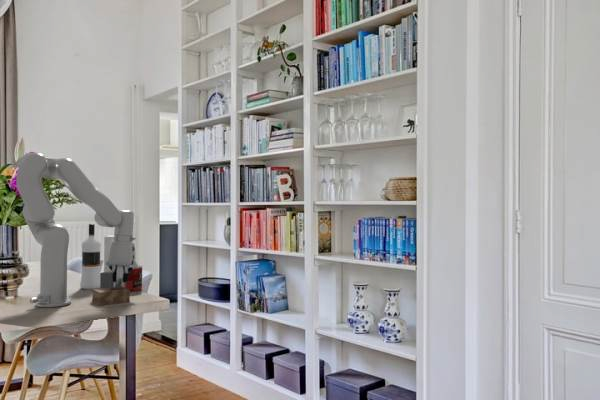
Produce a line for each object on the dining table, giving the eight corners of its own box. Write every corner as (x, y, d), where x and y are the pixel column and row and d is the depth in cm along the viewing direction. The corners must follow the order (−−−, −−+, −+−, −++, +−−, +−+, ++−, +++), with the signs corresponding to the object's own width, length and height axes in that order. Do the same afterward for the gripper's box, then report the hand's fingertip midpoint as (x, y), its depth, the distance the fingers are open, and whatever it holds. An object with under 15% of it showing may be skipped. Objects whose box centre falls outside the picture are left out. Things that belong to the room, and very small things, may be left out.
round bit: (120, 289, 223) (122, 265, 223) (113, 288, 224) (114, 264, 225) (127, 288, 226) (128, 264, 227) (119, 287, 228) (121, 264, 228)
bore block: (99, 305, 208) (99, 292, 208) (92, 301, 215) (92, 289, 215) (129, 301, 215) (129, 289, 215) (121, 298, 222) (121, 286, 222)
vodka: (79, 290, 241) (80, 224, 241) (80, 286, 249) (81, 223, 249) (101, 289, 244) (102, 224, 244) (101, 286, 253) (102, 223, 253)
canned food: (135, 292, 238) (135, 267, 238) (120, 290, 241) (120, 266, 241) (145, 289, 245) (145, 265, 245) (131, 288, 248) (131, 264, 248)
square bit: (109, 296, 226) (109, 273, 226) (100, 296, 226) (100, 272, 226) (113, 294, 230) (113, 272, 230) (104, 294, 230) (104, 271, 230)
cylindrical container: (115, 293, 234) (115, 236, 234) (100, 292, 236) (101, 236, 236) (123, 290, 241) (124, 235, 241) (109, 289, 243) (110, 235, 243)
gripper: (145, 239, 229) (142, 282, 228) (108, 237, 231) (106, 279, 230) (138, 240, 221) (135, 284, 221) (100, 238, 223) (97, 281, 223)
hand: (120, 281), depth 225 cm, fingers closed on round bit, 4 cm apart
